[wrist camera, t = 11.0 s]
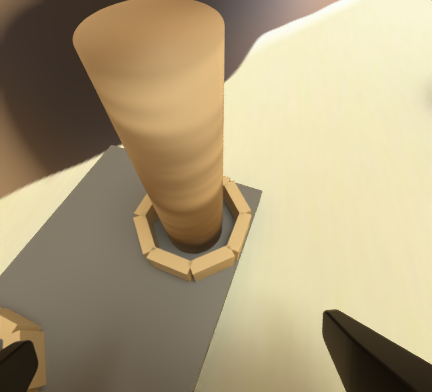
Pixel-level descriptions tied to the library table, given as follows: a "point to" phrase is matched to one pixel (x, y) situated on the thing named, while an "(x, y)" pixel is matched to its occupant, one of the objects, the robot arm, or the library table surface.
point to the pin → (165, 105)
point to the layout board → (119, 288)
